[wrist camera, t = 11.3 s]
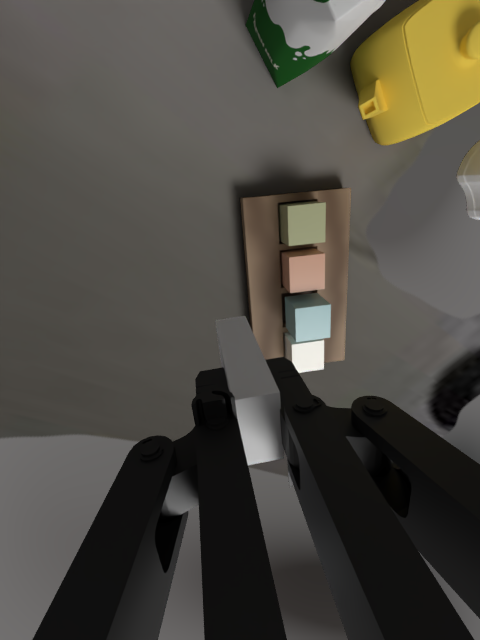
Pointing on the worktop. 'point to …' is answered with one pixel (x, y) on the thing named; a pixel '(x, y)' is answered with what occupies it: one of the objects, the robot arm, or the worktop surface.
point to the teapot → (419, 69)
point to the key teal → (308, 317)
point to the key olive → (302, 223)
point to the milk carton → (303, 31)
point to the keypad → (266, 274)
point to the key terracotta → (302, 269)
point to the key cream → (304, 353)
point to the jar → (471, 180)
